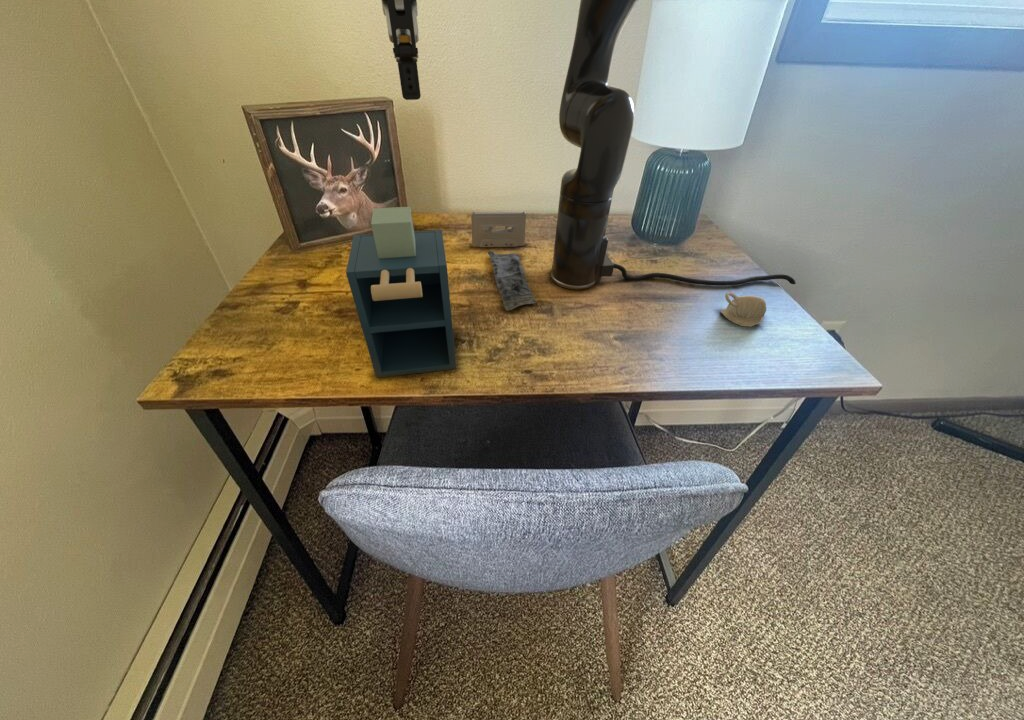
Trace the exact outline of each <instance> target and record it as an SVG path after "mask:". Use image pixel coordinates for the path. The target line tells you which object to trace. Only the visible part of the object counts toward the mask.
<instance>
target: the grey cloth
mask: <svg viewBox="0 0 1024 720" xmlns="http://www.w3.org/2000/svg"><path fill="white" fill-rule="evenodd" d="M487 255H488V256H489V260H490V263H491V266H492V268H493V275H494V280H495V283H496V286H497V289H498V292H499V295H500V297H501V299H502V302H503V303H502V306H503V307H504V310H506V311H508V312H509V311H512V310H514V309H517V308H518V307H520V306H521V307H522V306H523V305H524V306H525V305H531V304H537V299H536V298H535V296H534V294H533V291H532V289H531V287H530V285H529V281H528V280H527V277H526V274H525V272H524V267H523V265H522V263H521V258H520V256H519V255H518V254H516V253H506V254H503V253H496V252H494V251H493V250H488V251H487Z"/></svg>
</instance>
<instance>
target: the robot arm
mask: <svg viewBox="0 0 1024 720" xmlns="http://www.w3.org/2000/svg"><path fill="white" fill-rule="evenodd" d="M380 1H381V7H382V13H383V15H384V17H385V21H386V22H385V23H386V29H387V35H388V39H389V41H390V42H391V43H392V44H393V47H392V52H393V53H392V54H393V58H394V59H395V61H396V63H397V68H398V75H399V76H398V77H399V82H400V89H401V95H402V98H403V99H404V100H406V101H417V100H420V98H421V96H422V95H421V94H422V93H421V87H420V86H421V85H420V78H419V71H418V59H419V50H418V49H419V48H418V47H417V43H418V42H419V40H420V38H419V36H420V35H419V27H418V26H419V25H418V20H417V19H418V18H417V17H418V16H419V15H418V14H419V11H418V1H417V0H380ZM639 1H640V0H580V1H579V8H578V13H577V14H578V15H577V21H576V28H575V33H574V39H573V45H572V49H571V54H570V59H569V63H568V67H567V73H566V77H565V82H564V86H563V89H562V94H561V98H560V104H559V111H558V112H559V113H558V123H559V129H560V132H561V134H562V137H563V138H564V139H565V140H566V141H567V142H568V143H569V144H571V145H573V146H576V147H578V148H579V149H580V153H579V158H578V161H577V162H578V163H577V167H576V168H572V169H569V170H567V171H566V172H564V173H563V175H562V177H561V181H560V189H559V200H558V209H557V218H556V226H555V236H554V246H553V253H552V256H553V257H552V264H551V272H550V278H551V279H550V280H552V282H553V283H554V284H556V285H557V286H559V287H561V288H564V289H569V290H577V291H578V290H587V289H589V288H592V287H593V286H595V285H599V284H600V283H601V279H602V277H612V276H613V272H614V270H615V269H616V270H619V272H621V275H622V276H621V277H622V278H623V279H625V280H627V281H643V280H648V279H653V278H660V279H668V280H673V281H677V282H682V283H687V284H694V285H701V286H718V287H719V286H720V287H721V286H722V287H723V286H738V285H739V286H740V285H744V284H747V283H748V284H749V283H752V282H759V281H761V282H763V281H771V280H785V281H787V282H788V283H789V284H790V285H796V280H795V279H794V278H793V276H790V275H788V274H782V273H781V274H780V273H779V274H778V273H777V274H767V275H759V276H758V275H757V276H756V275H755V276H751V277H747V278H746V277H745V278H742V279H736V280H735V279H734V280H708V279H698V278H697V279H696V278H690V277H685V276H680V275H675V274H671V273H666V272H665V273H664V272H651V273H646V274H642V275H641V274H640V275H636V276H635V275H634V276H633V275H630V274H628V273H627V269H626V268H625V267H624V266H623V265H621V264H618V263H615V262H613V261H612V260H611V258H610V257H609V256H608V254H607V248H608V244H609V238H608V237H607V235H606V231H607V226H608V221H609V216H610V211H611V206H612V200H613V195H614V192H615V188H616V186H617V184H618V182H619V181H620V178H621V177H622V174H623V171H624V167H625V162H626V159H627V154H628V151H629V147H630V143H631V139H632V134H633V130H634V125H635V114H636V113H635V112H636V111H635V104H634V100H633V98H632V95H630V93H629V92H628V91H626V90H624V89H622V88H620V87H617V86H614V85H611V84H609V80H610V73H611V69H612V65H613V64H612V63H613V60H614V59H613V58H614V54H615V51H616V48H617V47H616V46H617V43H618V41H619V38H620V36H621V34H622V32H623V30H624V27H625V25H626V23H627V22H628V20H629V18H630V16H631V15H632V13H633V11H634V9H635V8H636V6H637V4H638V3H639Z"/></svg>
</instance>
